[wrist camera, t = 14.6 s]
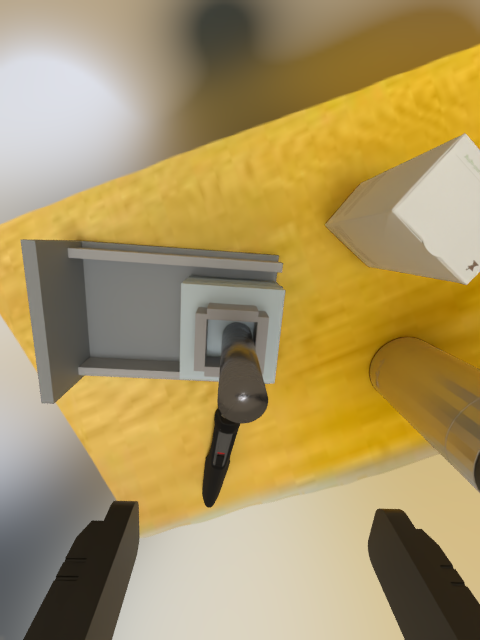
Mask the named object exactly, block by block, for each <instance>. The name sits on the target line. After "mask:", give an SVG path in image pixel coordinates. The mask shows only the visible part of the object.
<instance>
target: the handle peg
mask: <svg viewBox="0 0 480 640" xmlns="http://www.w3.org/2000/svg"><path fill="white" fill-rule="evenodd" d="M267 405H268V396H267V392H266V388H265V384H264V380H263V376H262V372H261V368H260V365H259V361H258V357H257V353H256V349H255V345H254V341H253V337H252V333H251V330H250V328H249V327H248V326H247V325H245V324H244V323H241V322H233V323H231V324H229V325H227V326H226V327H225V329H224V330H223V333H222V344H221V358H220V373H219V387H218V407H219V410H220V412H221V413H222V415H223V416H224V417H225V418H227V419H228V420H230V421H232V422H235V423H249V422H252V421H254V420H256V419H258V418H259V417H260V416H261V415H262V414H263V413H264V412H265V410H266V408H267Z"/></svg>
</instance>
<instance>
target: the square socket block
mask: <svg viewBox="0 0 480 640" xmlns="http://www.w3.org/2000/svg"><path fill="white" fill-rule="evenodd" d="M284 297H285V290H284V289H283V287H282V286H280V285H278V283H277V282H275V281H269V280H254V279H239V278H225V277H210V276H195V275H190V276H188V278H187V279H186V280H183V282H182V283H181V324H180V379H190V380H212V381H219V373H220V358H221V344H222V333H223V330H224V329H225V327H226V326H227V325H229V324H231V323H233V322H241V323H244V324H245V325H247V326H248V327H249V328H250V330H251V333H252V337H253V341H254V345H255V349H256V353H257V357H258V361H259V365H260V368H261V372H262V376H263V380H264V383H275V375H276V366H277V357H278V349H279V340H280V331H281V323H282V314H283V305H284Z"/></svg>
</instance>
